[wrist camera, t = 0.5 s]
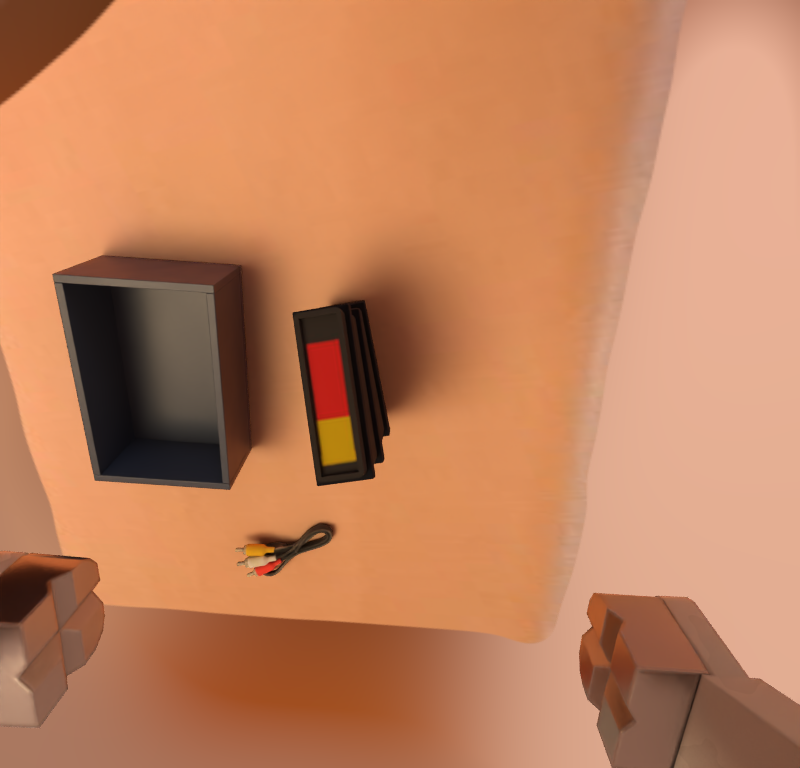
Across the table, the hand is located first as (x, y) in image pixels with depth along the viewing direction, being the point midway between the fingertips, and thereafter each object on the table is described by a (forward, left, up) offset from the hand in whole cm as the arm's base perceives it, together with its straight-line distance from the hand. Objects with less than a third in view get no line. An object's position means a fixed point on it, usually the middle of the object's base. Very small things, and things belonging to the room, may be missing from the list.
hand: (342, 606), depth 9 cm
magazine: (+10, -3, -37) cm, 38 cm away
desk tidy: (+12, -18, -37) cm, 42 cm away
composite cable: (+32, -9, -37) cm, 49 cm away
